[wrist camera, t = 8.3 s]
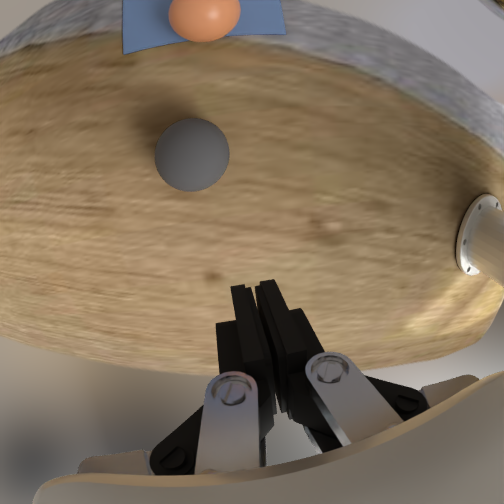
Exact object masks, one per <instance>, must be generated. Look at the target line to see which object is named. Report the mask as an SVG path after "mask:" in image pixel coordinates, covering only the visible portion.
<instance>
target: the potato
mask: <svg viewBox="0 0 504 504" xmlns="http://www.w3.org/2000/svg"><path fill="white" fill-rule="evenodd" d="M496 1H497V2H498V3H500V4H501V5H502V6H504V0H496Z"/></svg>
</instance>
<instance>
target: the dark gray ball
mask: <svg viewBox="0 0 504 504" xmlns="http://www.w3.org/2000/svg"><path fill="white" fill-rule="evenodd" d="M228 161H229V146H228V142H227V139H226V137H225V135H224V134H223V133H222V131H221V130H220V129H219V128H218V127H217V126H216V125H214V124H213V123H211V122H209V121H206V120H203V119H199V118H189V119H183V120H181V121H178V122H176V123H174V124H172V125H171V126H170V127H168V128H167V129H166V130H165V131H164V132H163V134H162V135H161V136H160V138H159V140H158V142H157V145H156V148H155V164H156V167H157V170H158V172H159V174H160V176H161V177H162V179H163V180H164V181H165V182H166V183H168V184H169V185H170V186H172V187H174V188H176V189H178V190H182V191H191V192H192V191H199V190H203V189H206V188H208V187H210V186H211V185H213V184H214V183H216V182H217V181H218V180H219V179H220V178H221V176H222V175H223V173H224V172H225V170H226V168H227V165H228Z"/></svg>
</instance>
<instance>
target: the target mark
mask: <svg viewBox="0 0 504 504" xmlns="http://www.w3.org/2000/svg"><path fill="white" fill-rule="evenodd" d="M172 1H173V0H123V54H124V55H125V54H129V53H133V52H136V51H140V50H144V49H148V48H153V47H157V46H162V45H167V44H172V43H178V42H184V41H190V40H187V39H185V38H183V37H181V36H180V35H178V34H177V33H176V32H175V31H174V30H173V28H172V27H171V25H170V22H169V15H168V13H169V8H170V5H171V3H172ZM239 3H240V7H241V13H240V18H239V20H238V22H237V24H236V26H235V27H234V28H233V29H232V30H231V31H230V32H229V33H228V34H226V35H225V36H237V35H267V34H273V35H286V31H285V25H284V19H283V13H282V7H281V2H280V0H239Z"/></svg>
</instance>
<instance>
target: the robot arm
mask: <svg viewBox="0 0 504 504" xmlns="http://www.w3.org/2000/svg"><path fill="white" fill-rule="evenodd" d="M456 258H457V264H458V266H459V268H460V269H461V271H462V272H464V273H465V274H467V275H470V276H471V275H475V274H478V273H479V272H482V273H484V274H485V275H486V276H488V277H489V278H491V279H492V280H494V281H495V282H497V283H498V284H499V285H501V286H502V287H504V211H502V208H501V205H500V203H499V201H498V200H497V198H496V197H494V196H492V195H489V194H483V195H481V196H479V197H478V198H477V199H475V200H474V202H473V203H472V204H471V205H470V207H469V209H468V210H467V212H466V214H465V216H464V218H463V221H462V224H461V226H460V230H459V234H458V239H457V246H456ZM230 288H231V294H232V299H233V305H234V311H235V317H236V320H233V321H227V322H221V323H216V337H217V349H218V361H219V372H220V375H218V376H216V377H215V378H213V379H212V380H211V381H210V383H209V384H208V386H207V389H206V393H205V399H204V405H203V406H202V407H200V408H199V410H197V411H196V412H195V413H194V414H193V415H192V416H190V417H189V418H188V419H187V420H186V421H185V422H184V423H183V424H181V425H180V426H179V427H178V428H177V429H176V430H175V431H173V432H172V433H171V434H170V435H169V436H167V437H166V438H165V439H164V440H163V441H161V442H160V443H159V444H158V445H157V446H156V447H155V448H154V449H153V450H152V451H147V452H145V451H144V450H143V449H142V450H137V451H132V452H125V453H118V454H111V455H102V456H93V457H89V458H86V459H85V460H83V461H82V462H81V463H80V465H79V467H78V473H77V474H72V475H66V476H62V477H58V478H55V479H52V480H50V481H48V482H46V483H44V484H43V485H42V486H41V487H40V488H39V489H38V491H37V493H36V494H35V497H34V499H33V502H32V504H504V371H502V372H498V373H494V374H492V375H489V376H487V377H485V378H483V379H481V380H479V379H478V378H476V377H475V376H473V375H462V376H459V377H456V378H453V379H450V380H447V381H443V382H439V383H436V384H432V385H428V386H424V387H422V388H421V390H419V391H418V390H416V389H413V388H410V387H406V386H402V385H398V384H394V383H390V382H387V381H383V380H379V379H376V378H372V377H368V376H365V375H364V374H363V373H362V372H361V371H360V370H359V369H358V368H357V366H356V365H355V364H354V363H353V362H352V361H351V360H350V359H349V358H348V357H347V356H345V355H343V354H341V353H337V352H325V351H324V349H323V347H322V346H321V344H320V342H319V340H318V338H317V336H316V334H315V332H314V331H313V329H312V327H311V325H310V323H309V321H308V319H307V317H306V316H305V314H304V312H303V310H302V309H301V308H298V309H293V310H289V309H288V307H287V305H286V303H285V301H284V299H283V296H282V294H281V292H280V290H279V288H278V286H277V284H276V282H275V280H274V279H272V280H266V281H260V285H259V286H255V293H256V301H257V306H256V303H255V300H254V296H253V293H252V289H251V287H248V288H245V284H243V285H237V286H231V287H230ZM257 309H258V310H257ZM275 393H276V396H277V400H278V403H279V406H280V410H281V413H284V412H287V414H288V417H289V419H293V420H294V421H295V422H297V423H299V424H302V425H303V428H304V431H305V433H306V434H307V436H308V438H309V439H310V441H311V443H312V445H313V447H314V448H315V450H316V452H317V453H318V455H315V456H311V457H307V458H304V459H300V460H296V461H291V462H287V463H282V464H278V465H272V466H267V454H266V437H265V436H266V435H267V433H268V432H269V431H270V430H271V428H272V427H273V426H274V418H273V415H274V414H277V410H276V398H275Z"/></svg>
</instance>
